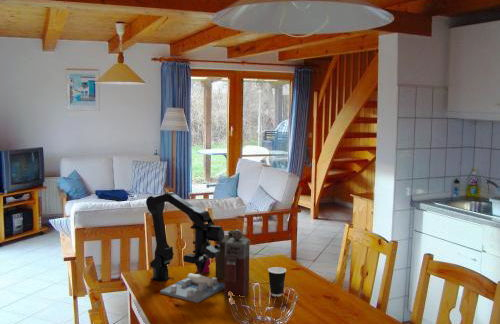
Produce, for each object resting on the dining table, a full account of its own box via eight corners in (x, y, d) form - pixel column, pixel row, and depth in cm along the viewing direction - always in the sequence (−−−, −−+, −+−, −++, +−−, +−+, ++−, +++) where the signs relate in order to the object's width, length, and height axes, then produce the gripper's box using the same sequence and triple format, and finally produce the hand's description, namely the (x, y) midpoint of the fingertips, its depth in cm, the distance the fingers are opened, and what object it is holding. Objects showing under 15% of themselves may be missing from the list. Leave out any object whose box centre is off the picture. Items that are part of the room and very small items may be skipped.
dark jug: (222, 297, 212) (223, 233, 209) (229, 288, 223) (229, 226, 220) (243, 299, 210) (244, 234, 207) (248, 290, 221) (249, 228, 218)
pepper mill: (208, 273, 242) (208, 233, 240) (193, 272, 244) (193, 232, 241) (212, 269, 249) (212, 229, 247) (198, 268, 251) (198, 229, 248)
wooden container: (252, 274, 243) (252, 229, 240) (235, 283, 230) (235, 236, 228) (227, 268, 251) (227, 225, 248) (209, 276, 238) (209, 231, 236)
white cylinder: (187, 283, 226) (186, 276, 225) (193, 278, 229) (191, 271, 228) (209, 289, 220) (208, 281, 219) (214, 283, 223) (213, 276, 222)
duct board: (160, 293, 216) (160, 284, 216) (191, 278, 235) (191, 271, 235) (197, 302, 206) (197, 294, 206) (227, 286, 225) (227, 278, 225)
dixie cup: (267, 291, 221) (267, 266, 219) (285, 291, 221) (285, 267, 219) (267, 297, 213) (268, 272, 212) (286, 298, 213) (286, 273, 212)
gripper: (203, 246, 210) (203, 282, 212) (227, 237, 226) (227, 270, 228) (182, 242, 216) (182, 277, 218) (207, 233, 232) (207, 266, 234)
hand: (201, 273), depth 224 cm, fingers closed
